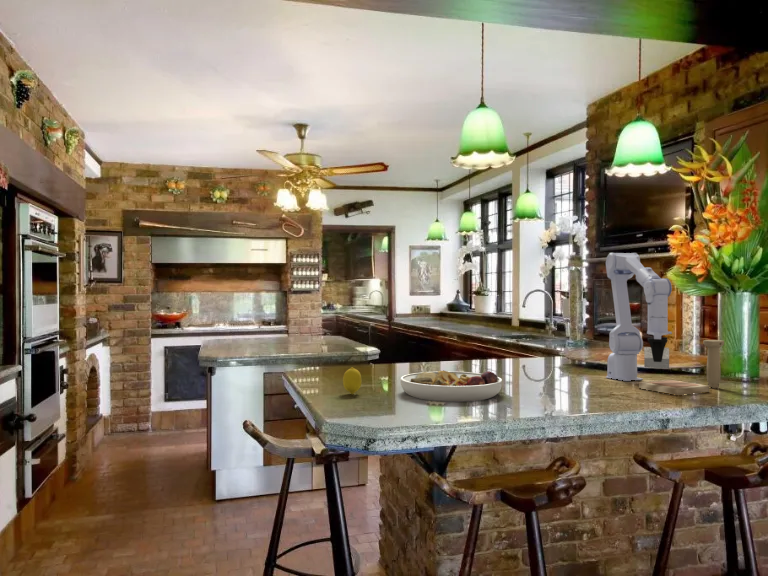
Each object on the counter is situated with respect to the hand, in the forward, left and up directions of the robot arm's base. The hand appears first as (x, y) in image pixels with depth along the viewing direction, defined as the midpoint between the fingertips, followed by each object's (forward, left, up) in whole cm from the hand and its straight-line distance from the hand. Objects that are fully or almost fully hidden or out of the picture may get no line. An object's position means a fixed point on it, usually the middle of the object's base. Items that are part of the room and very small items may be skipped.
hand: (657, 360), depth 190 cm
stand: (+3, +3, -9) cm, 10 cm away
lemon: (-34, -89, -9) cm, 96 cm away
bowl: (-22, -62, -10) cm, 67 cm away
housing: (0, 0, -2) cm, 2 cm away
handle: (+5, +19, -9) cm, 22 cm away
